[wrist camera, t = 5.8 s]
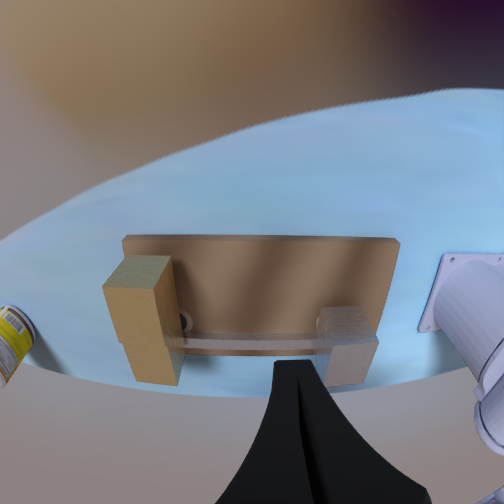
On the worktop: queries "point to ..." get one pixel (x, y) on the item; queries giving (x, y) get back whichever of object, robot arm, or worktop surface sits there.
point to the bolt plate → (270, 281)
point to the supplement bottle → (13, 341)
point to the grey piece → (311, 344)
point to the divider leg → (147, 317)
